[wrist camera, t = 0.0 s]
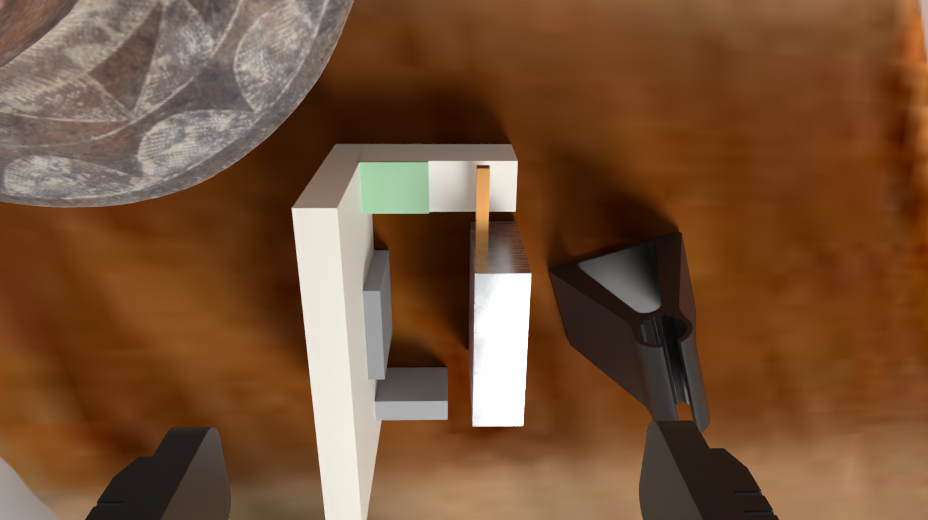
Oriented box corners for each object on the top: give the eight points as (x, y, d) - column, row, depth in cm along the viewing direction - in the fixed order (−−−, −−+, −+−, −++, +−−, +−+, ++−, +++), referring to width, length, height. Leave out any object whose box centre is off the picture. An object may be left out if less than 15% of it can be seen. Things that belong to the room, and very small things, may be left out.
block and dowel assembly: (510, 353, 45) (522, 425, 38) (468, 353, 45) (472, 426, 38) (519, 144, 39) (536, 182, 32) (470, 144, 39) (476, 183, 32)
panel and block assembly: (501, 409, 47) (517, 539, 36) (355, 410, 47) (327, 542, 36) (511, 144, 39) (535, 207, 28) (335, 144, 39) (291, 208, 28)
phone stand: (680, 230, 42) (762, 320, 31) (693, 307, 44) (774, 415, 33) (548, 268, 43) (582, 368, 32) (568, 341, 45) (607, 457, 34)
